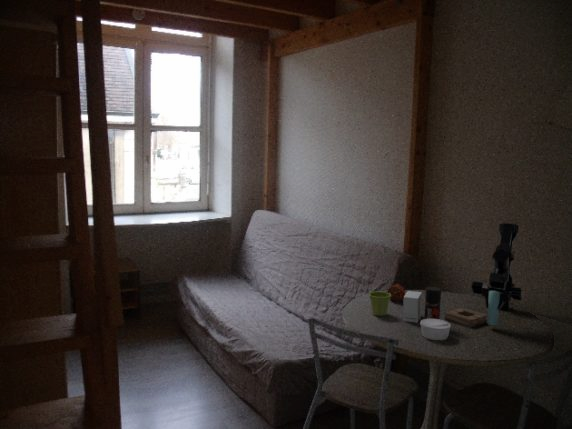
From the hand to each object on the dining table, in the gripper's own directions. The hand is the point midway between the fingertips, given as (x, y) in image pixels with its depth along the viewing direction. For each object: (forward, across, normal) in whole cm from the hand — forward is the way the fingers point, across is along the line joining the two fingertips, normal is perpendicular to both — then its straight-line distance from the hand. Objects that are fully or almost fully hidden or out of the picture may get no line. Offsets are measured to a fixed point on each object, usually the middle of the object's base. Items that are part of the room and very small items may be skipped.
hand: (492, 308), depth 206 cm
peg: (+4, 0, +6) cm, 7 cm away
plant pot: (+11, -44, +1) cm, 46 cm away
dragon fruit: (-6, -46, +18) cm, 50 cm away
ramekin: (+21, -16, -8) cm, 28 cm away
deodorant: (+12, -21, +1) cm, 24 cm away
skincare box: (+10, -31, +3) cm, 32 cm away
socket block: (+2, -11, +10) cm, 15 cm away
